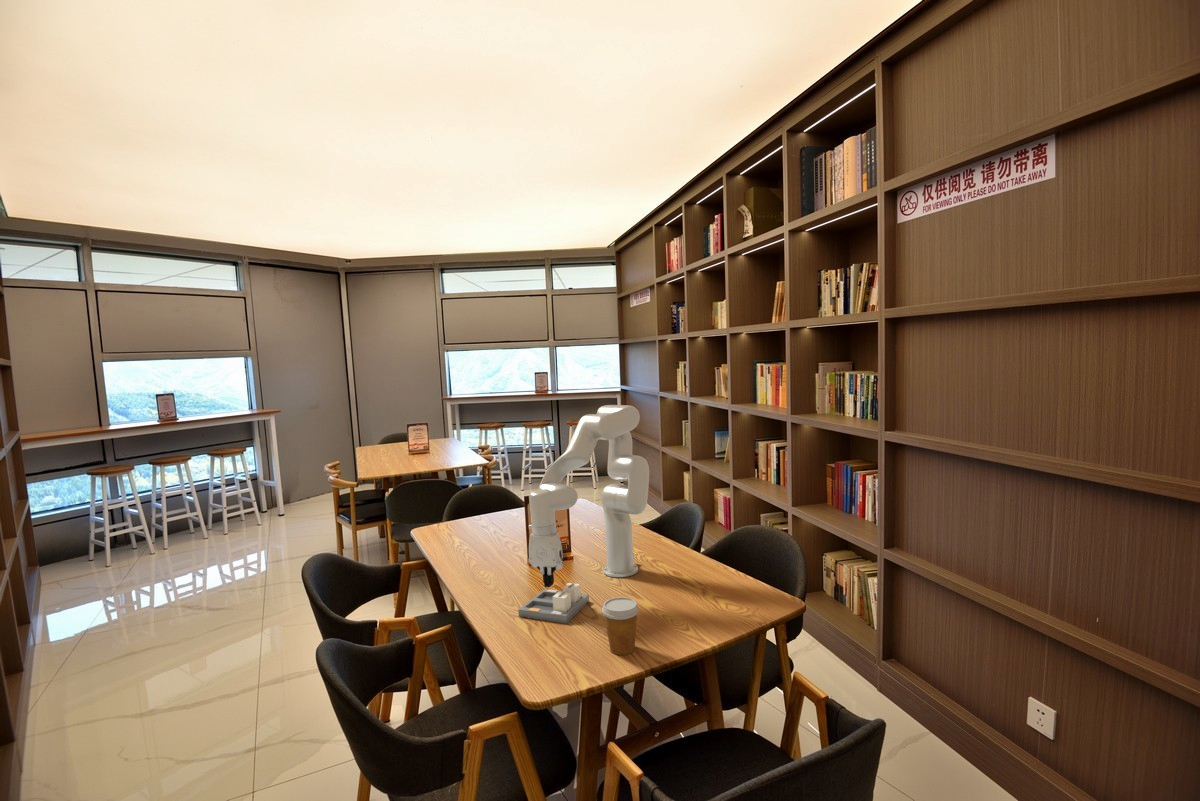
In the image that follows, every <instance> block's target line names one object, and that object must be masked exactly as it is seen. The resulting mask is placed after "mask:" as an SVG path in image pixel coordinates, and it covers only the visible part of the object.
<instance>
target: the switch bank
mask: <svg viewBox="0 0 1200 801" xmlns="http://www.w3.org/2000/svg"><path fill="white" fill-rule="evenodd" d="M558 592H563V590H557V589H545V588H544V589H542V590H541V591H540V592H538V593H537V594H536V595H535V596H533V597H532V598H531V599H529V601H527V602H526V603H525V604H523V605H522V606H521V607H520V608H518V610H517V611H518V617H519V616H522V617H521V618H524V617H529V618H528V619H531V618H534V620H538V619H540V621H545V620H547V622H554V623H561V624H568V623H569V622H570V621H571V620H572V619H573V618H574V617H575V616H577V615H578V613H579V612H580V611H581V610H582V609H583V608H584V607H585V606H587V604H588V603H589V602H590V597H589V596H590V595H589V594H586V593H580V596H581V599H580V600H579V601H578V602H577V603H571V609H570V610H569V611H568V612H567V613H564V612H560V611H553V596H554V595H555V594H556V593H558ZM587 602H588V603H587ZM586 603H587V604H586ZM583 606H584V607H583ZM582 607H583V608H582ZM581 608H582V609H581ZM580 609H581V610H580ZM579 610H580V611H579Z"/></svg>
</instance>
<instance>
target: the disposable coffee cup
mask: <svg viewBox="0 0 1200 801" xmlns="http://www.w3.org/2000/svg"><path fill="white" fill-rule="evenodd" d="M639 610H640V608H639V606H638V603H637V601H636V600H635V599H633V598H631V597H622V596H621V597H620V596H619V597H618V596H617V597H611V598H609V599H607V600H605V601H604V603H603V606H602V608H601V612H602V614H603V617H604V621H605V628H606V634H607V640H608V646H609V651H610V652H611V653H612V654H613V655H617V656H627V655H631V654H632V653H633V652H634V651H635V648H636V647H635V646H636V635H637V634H636V633H637V620H638V612H639Z"/></svg>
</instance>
